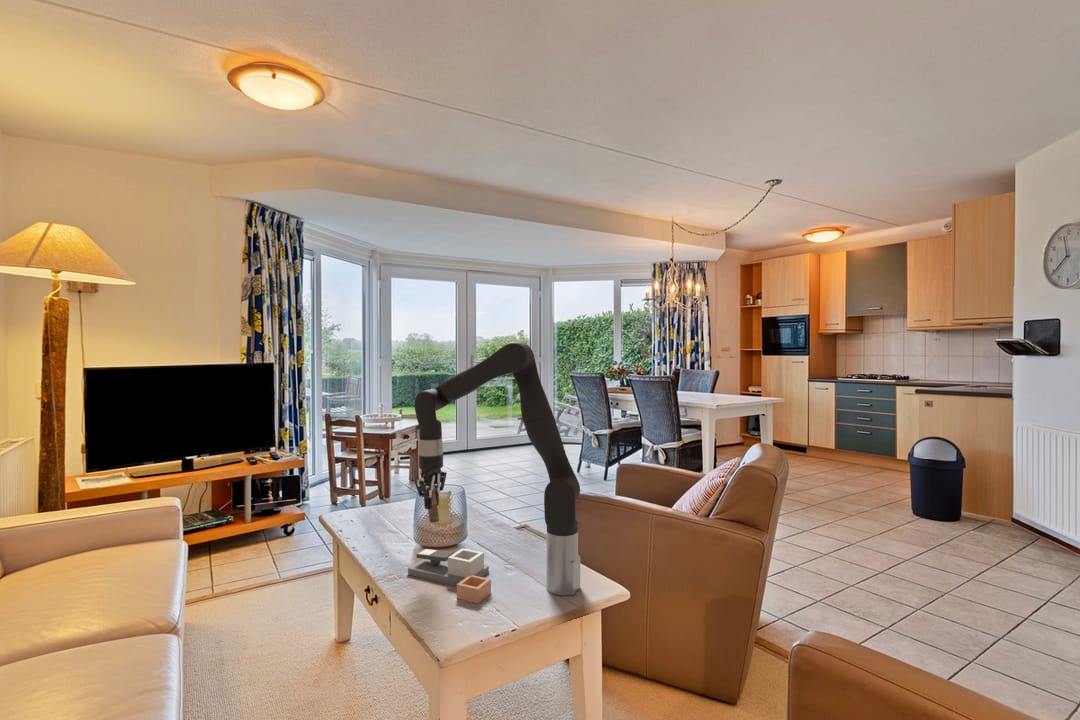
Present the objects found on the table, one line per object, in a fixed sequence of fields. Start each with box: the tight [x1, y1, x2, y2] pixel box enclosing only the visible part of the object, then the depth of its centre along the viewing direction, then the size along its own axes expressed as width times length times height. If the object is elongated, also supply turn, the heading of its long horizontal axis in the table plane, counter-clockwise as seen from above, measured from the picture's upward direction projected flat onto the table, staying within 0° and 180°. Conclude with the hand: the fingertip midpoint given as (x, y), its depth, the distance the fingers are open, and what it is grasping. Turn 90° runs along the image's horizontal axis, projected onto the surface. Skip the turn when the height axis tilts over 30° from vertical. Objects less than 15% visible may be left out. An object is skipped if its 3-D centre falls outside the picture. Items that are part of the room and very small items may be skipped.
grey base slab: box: [407, 548, 490, 587], centre depth 164 cm, size 22×12×7 cm, turn 65°
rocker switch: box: [415, 548, 455, 562], centre depth 166 cm, size 11×5×1 cm, turn 65°
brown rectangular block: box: [427, 485, 440, 524], centre depth 165 cm, size 3×3×11 cm
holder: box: [456, 575, 492, 604], centre depth 150 cm, size 7×7×4 cm
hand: (431, 507), depth 165 cm, fingers closed on brown rectangular block, 3 cm apart
